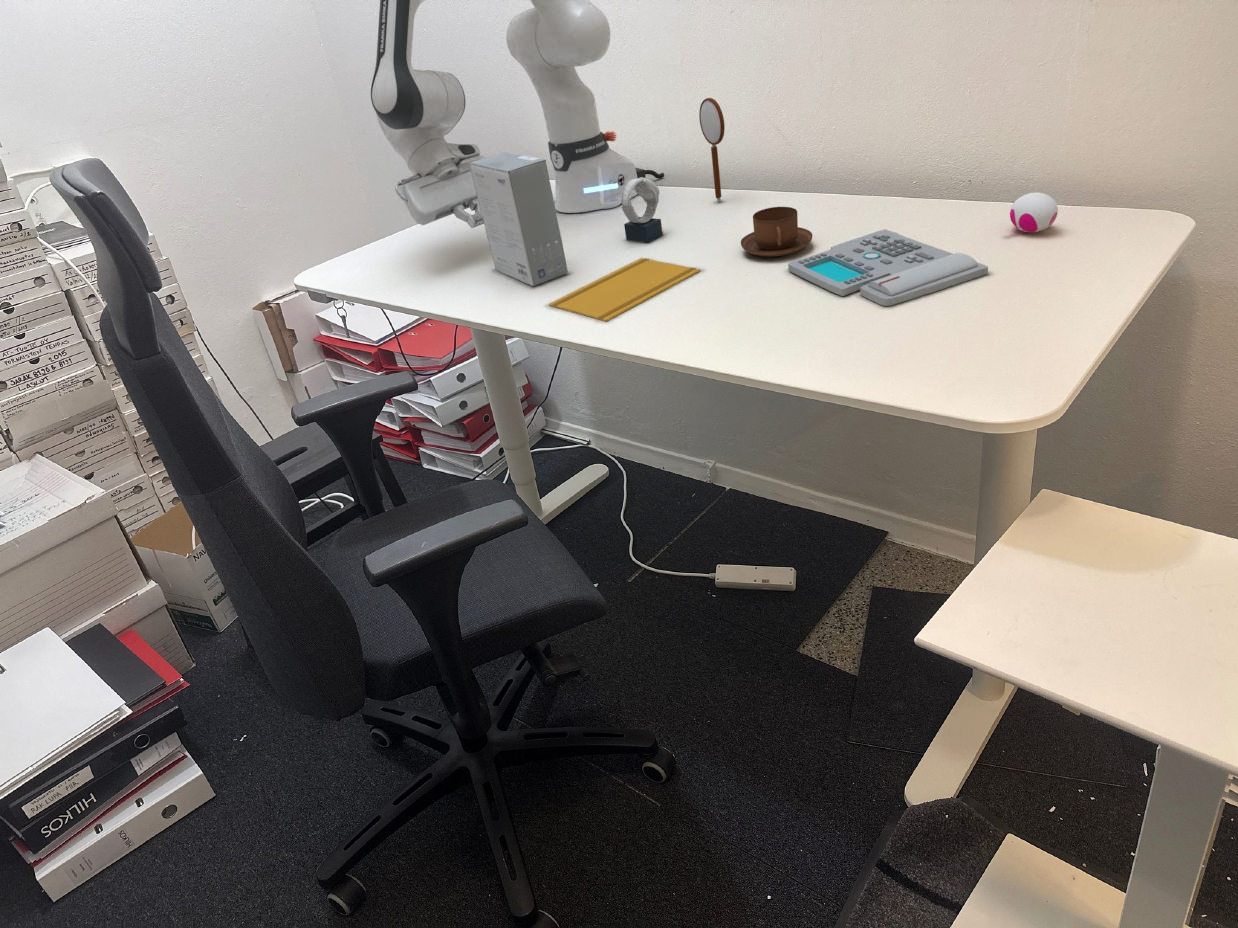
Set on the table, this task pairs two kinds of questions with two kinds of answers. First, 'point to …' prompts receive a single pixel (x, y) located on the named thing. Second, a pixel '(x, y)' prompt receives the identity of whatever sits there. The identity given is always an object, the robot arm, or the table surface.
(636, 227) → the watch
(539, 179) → the hard drive box
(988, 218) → the table surface
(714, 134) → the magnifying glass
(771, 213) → the cup and saucer
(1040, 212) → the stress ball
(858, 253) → the office telephone
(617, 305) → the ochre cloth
